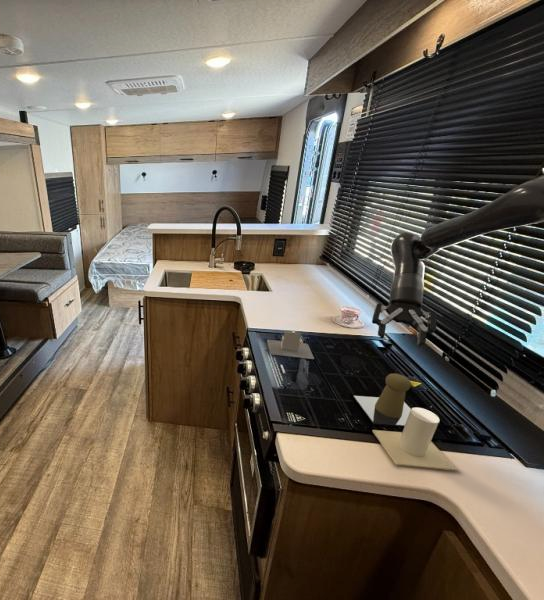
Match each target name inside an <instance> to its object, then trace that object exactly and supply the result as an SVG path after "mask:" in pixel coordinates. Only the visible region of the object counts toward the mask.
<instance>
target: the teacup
mask: <svg viewBox="0 0 544 600" xmlns="http://www.w3.org/2000/svg"><path fill="white" fill-rule="evenodd" d="M339 311H340V314H341V315H334V316H332V318H331V320H332V322H334V323H335V324H337V325H339V326H342V327H344V328H345V327H346V328H351V329H360V328H363V327H364V326H365V323H364V321H362V320H361V319H359V316H360V314H362V310H361V309H359V308H357V307H354V306H350V305H341V306H340V307H339ZM343 320H344V321H343ZM345 321H347V322H345Z"/></svg>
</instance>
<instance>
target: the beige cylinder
mask: <svg viewBox="0 0 544 600" xmlns="http://www.w3.org/2000/svg"><path fill="white" fill-rule="evenodd" d="M440 421H441V420H440V418H439V416H438V415H437V414H435V413H434V412H432V411H430V410H428V409H425V408H423V407H411V411H410V413H409V416H408V418H407V421H406V424H405V426H404V427H403V429H402V431H401V432H402V434H401V437H400V439H399V442H398V444H399V446H400V447H401V448H402V449H403V450H404V451H405V452H407V453H409V454H411V455H413V456H417V457H422V456H424V455H425V454H426V451H427V449H428V447H429V445H430V442H432V440H433V438H434V435H435V433H436V431H437V430H438V429H437V428H438V427H439V424H440Z"/></svg>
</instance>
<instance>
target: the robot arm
mask: <svg viewBox="0 0 544 600" xmlns="http://www.w3.org/2000/svg"><path fill="white" fill-rule="evenodd" d="M543 222H544V174H541V175H540V176H536V177H535V178H532V179H530V180H527V181H525V182H523V183H521V184H519V185H516V186H515V187H514V188H512V189H511V190H508V191H507V192H506V193H504V194H502V195H500V196H499V197H497V198H496V199H494V200H493V201H491V202H488V203H487V204H485V205H484V206H481V207H480V208H477V209H475V210H473V211H470V212H467V213H465V214H464V213H463V214H461V215H458V216H454V217H452V218H448V219H446V220H444V221H441V222H438V223H436V224H434V225H432V226H429V227H427V228H426V229H424V230H423V231H422V233H421V235H418V234H415V233H412V232H406V231H405V232H401V233H399V234H397V235H396V236H395V237H394V238H393V240H392V242H391V244H390V253H391V257H392V263H393V266H394V271H393V278H392V281H391V285H390V288H389V289H390V290H389V291H390V292H389V300H388V305H383V304H382V303H380V302H378V303H377V304H376V305H375V308H374V310H373V315H372V319H371V323H372V324H374V325H377V326H378V330H377V336H378V337H379V339H381V340H383V339H384V338H385V336H386V335H385V334H386V329H387V325H388V324H390V323H391V322H393V321H394V322H395V323H398V324H399V323H400V324H401V323H402V324H405V325H411V326H412V327H413V328H414V329H415V330H416V331H417V332H418V333H417V340H416V345H417V346H418V347H421V346H423V345H424V344H425V343H426V342H427V335H428V334H429V335H432V334H434V332H436V331H437V312H436V311H434V310H433V311H431V312H429V311H424V310H423V299H424V288H425V282H424V279H425V278H424V277H425V268H426V267H425V263H424V262H423V260H426V259H428V258H429V257H432V256H433V255H434V254H436V253H438V252H439V251H441V250H442V249H445V248H448V247H451V246H453V245H457V244H459V243H463V242H465V241H468V240H470V239H471V240H472V239H473V238H476V237H479V236H482V235H484V234H485V235H486V234H488V233H492V232H497V231H502V230H506V229H511V228H512V229H513V228H517V227H523V226H528V225H532V224H533V225H534V224H539V223H543ZM384 311H385V312H386V313H387V314H388V315H387V316H386V317H384V318H383V319H380V315H381V313H383V312H384ZM421 317H424V319H425V320H426V321H427V326H426V325H425V324H424V321H423V320H422V318H421Z"/></svg>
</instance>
